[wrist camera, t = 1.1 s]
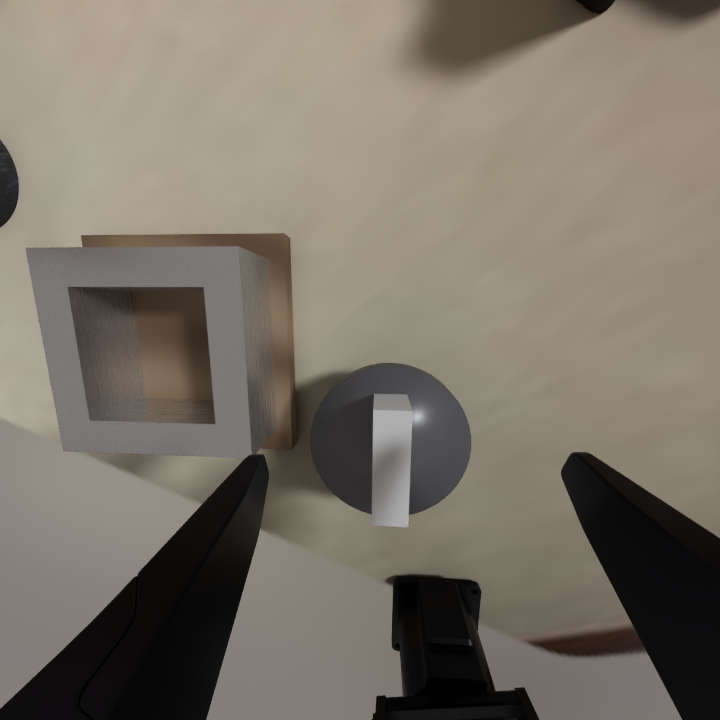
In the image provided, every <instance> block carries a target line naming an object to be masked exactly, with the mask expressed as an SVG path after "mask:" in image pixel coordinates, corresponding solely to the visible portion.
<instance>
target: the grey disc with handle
mask: <svg viewBox="0 0 720 720" xmlns="http://www.w3.org/2000/svg"><path fill="white" fill-rule="evenodd" d="M310 443H311V453H312V457H313V461H314V464H315V467H316V469H317V471H318V473H319V475H320V477H321V479H322V480H323V482H324V483H325V484H326V486H327V487H328V488H329V489H330V490H331V491H332V492H333V494H335V495H336V496H337V497H338V498H339V499H341V500H342V501H343V502H345V503H346V504H348V505H350V506H352V507H354V508H356V509H358V510H360V511H363V512H366V513H369V514H372V525H374V526H393V527H408V519H409V515H410V514H414V513H418V512H421V511H423V510H426V509H428V508H430V507H432V506H434V505H436V504H437V503H438V502H440V501H441V500H443V499H444V498H445V497H446V496H447V495H448V494H450V493H451V492H452V490H453V489H454V488H455V487H456V486H457V484H458V483H459V481H460V480H461V478H462V477H463V474H464V472H465V470H466V468H467V465H468V461H469V458H470V451H471V434H470V428H469V424H468V421H467V418H466V416H465V413H464V411H463V409H462V407H461V406H460V404H459V403H458V401H457V400H456V398H455V397H454V396H453V395H452V394H451V393H450V391H449V390H448V389H447V388H446V387H445V386H444V385H443V384H442V383H441V382H440V381H439V380H438V379H436V378H435V377H433V376H432V375H430V374H429V373H427V372H425V371H423V370H421V369H418V368H415V367H412V366H409V365H404V364H397V363H380V364H374V365H369V366H366V367H363V368H360V369H358V370H356V371H354V372H351V373H350V374H348V375H347V376H345V377H344V378H342V379H341V380H340V381H339V382H338V383H336V384H335V385H334V387H333V388H332V389H331V390H330V391H329V392H328V394H327V395H326V397H325V398H324V400H323V401H322V403H321V405H320V407H319V409H318V411H317V413H316V415H315V418H314V421H313V424H312V430H311V442H310Z"/></svg>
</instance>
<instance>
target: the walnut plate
mask: <svg viewBox="0 0 720 720" xmlns="http://www.w3.org/2000/svg"><path fill="white" fill-rule="evenodd" d="M81 238H82V245H83V247H212V246H239V247H241V248H243V249H246V250H248V251H250V252H253V253H255V254H257V255H260V256H262V257H264V258H267V259H269V270H270V292H271V313H272V334H273V355H274V376H275V397H276V418H277V429H276V430H275V432H274V433H273V434H272V435H271V436H270V437H269V439H268V440H267V441H266V442H265V443H264V445H263V446H262V447H261V448H262V449H290V450H292V449H293V448H294V446H295V444H296V443H297V427H296V398H295V369H294V341H293V312H292V283H291V255H290V238H289V237H288V236H287V235H285V234H284V233H281V234H180V235H81ZM132 294H133V302H134V310H135V318H136V325H137V333H138V341H139V349H140V356H141V364H142V372H143V380H144V387H145V395H146V398H149V399H188V400H213V389H212V377H211V366H210V354H209V343H208V331H207V320H206V308H205V297H204V291H132Z"/></svg>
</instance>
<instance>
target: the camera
mask: <svg viewBox="0 0 720 720" xmlns="http://www.w3.org/2000/svg"><path fill="white" fill-rule="evenodd" d="M576 1H578V2H580V3H581V4H582V5H583V6H584V7H585V8H587V9H588V10H590V11H592V12H596V13H602V12H604V11H606V10H607V9H608V8H609V7H610V6H611V5H612V4H613V3H614V1H615V0H576Z"/></svg>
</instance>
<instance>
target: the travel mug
mask: <svg viewBox="0 0 720 720" xmlns="http://www.w3.org/2000/svg"><path fill="white" fill-rule="evenodd" d="M17 199H18V177H17V172H16V168H15V165H14V163H13V160H12V158H11V156H10V154H9V152H8V150H7V149H6V147H5V146H4V144H3V143H2V142H1V140H0V227H1V226H2V225H3V224H4V223H5V222H7V220H8V219H9V218H10V217H11V215H12V213H13V211H14V209H15V206H16V203H17Z"/></svg>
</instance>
